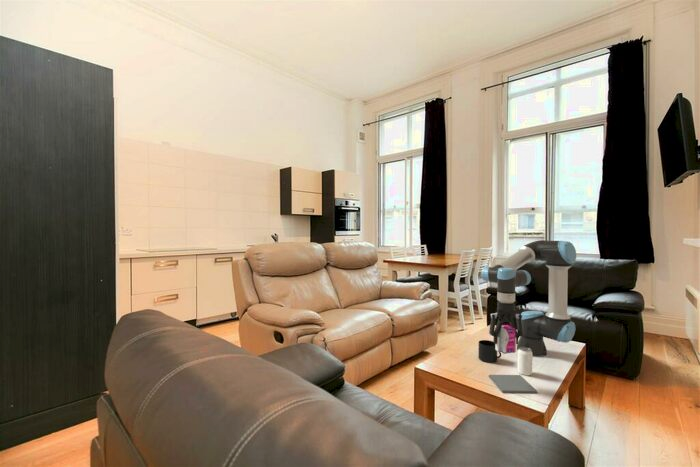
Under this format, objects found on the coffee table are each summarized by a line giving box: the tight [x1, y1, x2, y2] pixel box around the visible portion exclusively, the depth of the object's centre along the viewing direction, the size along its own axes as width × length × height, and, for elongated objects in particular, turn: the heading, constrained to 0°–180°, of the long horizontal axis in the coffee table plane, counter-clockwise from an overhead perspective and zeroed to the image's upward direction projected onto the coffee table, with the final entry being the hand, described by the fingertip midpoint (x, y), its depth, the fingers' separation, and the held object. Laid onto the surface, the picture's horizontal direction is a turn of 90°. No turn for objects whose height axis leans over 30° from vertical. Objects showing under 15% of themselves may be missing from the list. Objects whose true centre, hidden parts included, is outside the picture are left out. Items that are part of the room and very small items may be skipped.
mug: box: [478, 339, 502, 364], centre depth 176 cm, size 9×12×9 cm
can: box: [516, 347, 533, 377], centre depth 161 cm, size 6×6×12 cm
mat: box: [488, 374, 538, 394], centre depth 149 cm, size 15×15×1 cm
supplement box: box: [498, 324, 516, 355], centre depth 151 cm, size 6×6×12 cm
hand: (505, 350), depth 151 cm, fingers closed on supplement box, 7 cm apart
